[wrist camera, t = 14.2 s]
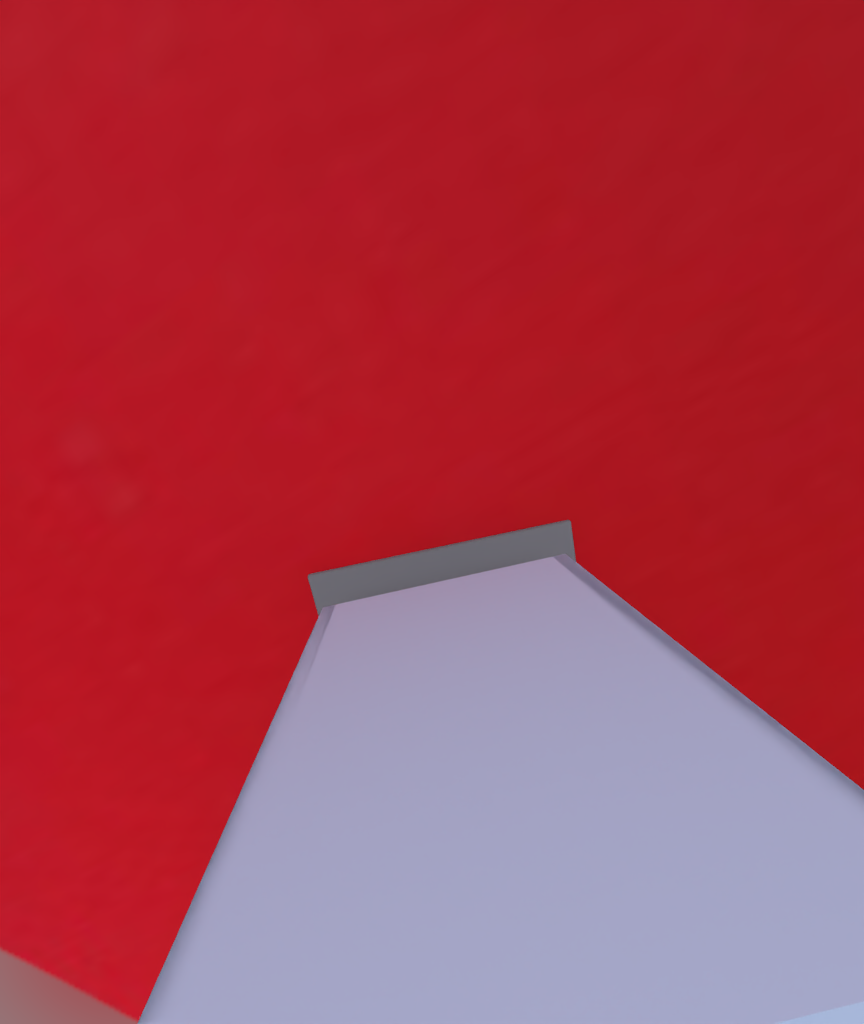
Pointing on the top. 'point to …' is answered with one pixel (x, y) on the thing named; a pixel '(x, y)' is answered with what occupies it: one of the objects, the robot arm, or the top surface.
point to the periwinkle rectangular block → (523, 831)
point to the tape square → (440, 564)
